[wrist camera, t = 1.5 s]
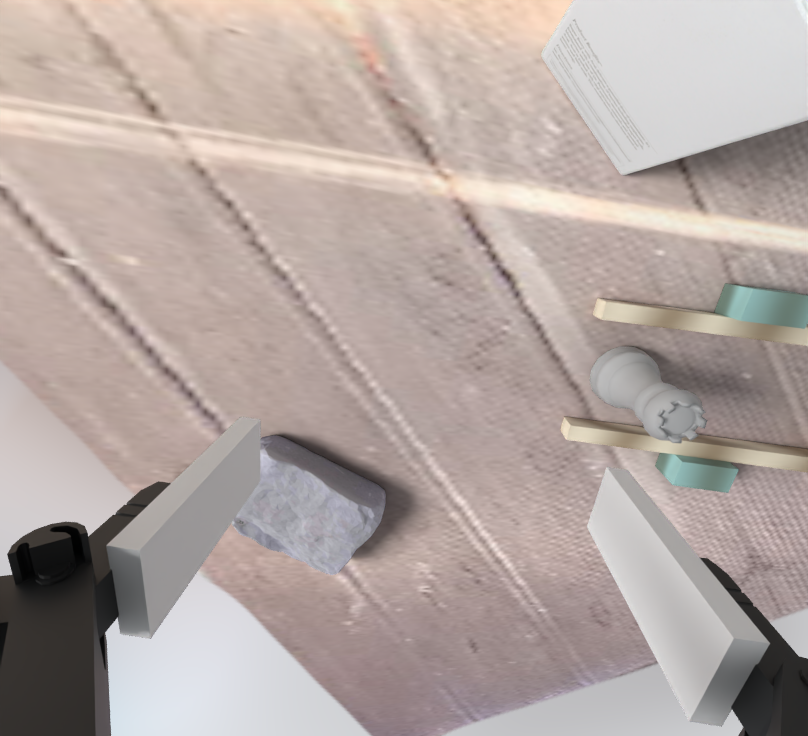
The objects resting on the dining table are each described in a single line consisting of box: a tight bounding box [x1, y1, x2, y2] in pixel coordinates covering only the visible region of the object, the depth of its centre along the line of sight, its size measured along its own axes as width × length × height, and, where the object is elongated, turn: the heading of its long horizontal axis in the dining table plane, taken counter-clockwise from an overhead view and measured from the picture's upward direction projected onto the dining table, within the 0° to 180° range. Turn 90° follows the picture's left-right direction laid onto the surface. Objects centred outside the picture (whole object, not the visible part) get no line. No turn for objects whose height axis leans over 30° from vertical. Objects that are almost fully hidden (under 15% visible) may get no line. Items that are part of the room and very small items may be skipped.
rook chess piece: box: [590, 346, 707, 443], centre depth 26 cm, size 4×4×8 cm
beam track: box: [561, 284, 808, 493], centre depth 28 cm, size 20×14×2 cm
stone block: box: [232, 435, 386, 575], centre depth 34 cm, size 12×5×10 cm
